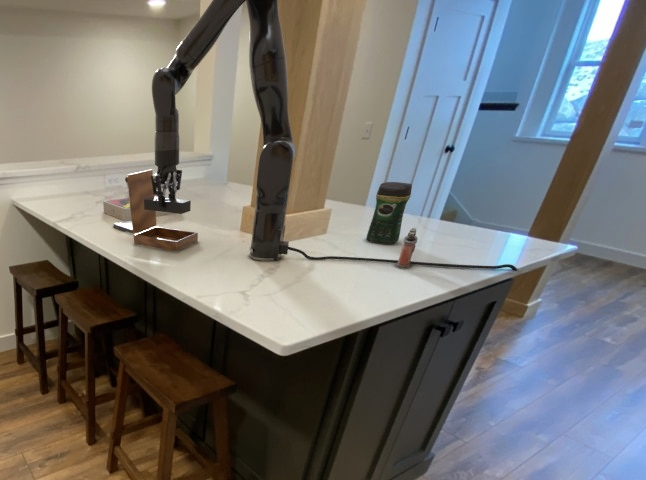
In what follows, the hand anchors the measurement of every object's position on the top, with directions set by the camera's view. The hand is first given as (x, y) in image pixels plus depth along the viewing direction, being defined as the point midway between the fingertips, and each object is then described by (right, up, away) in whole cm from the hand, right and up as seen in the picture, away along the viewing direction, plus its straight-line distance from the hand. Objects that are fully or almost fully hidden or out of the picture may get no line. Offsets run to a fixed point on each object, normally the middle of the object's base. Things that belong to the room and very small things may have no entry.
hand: (166, 206), depth 144 cm
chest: (+1, -8, +14) cm, 16 cm away
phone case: (-12, +5, +34) cm, 37 cm away
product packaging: (-7, +21, +60) cm, 64 cm away
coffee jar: (+74, -9, +7) cm, 75 cm away
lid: (-7, +7, +12) cm, 16 cm away
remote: (0, -1, +1) cm, 1 cm away
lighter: (+69, -23, -14) cm, 74 cm away
